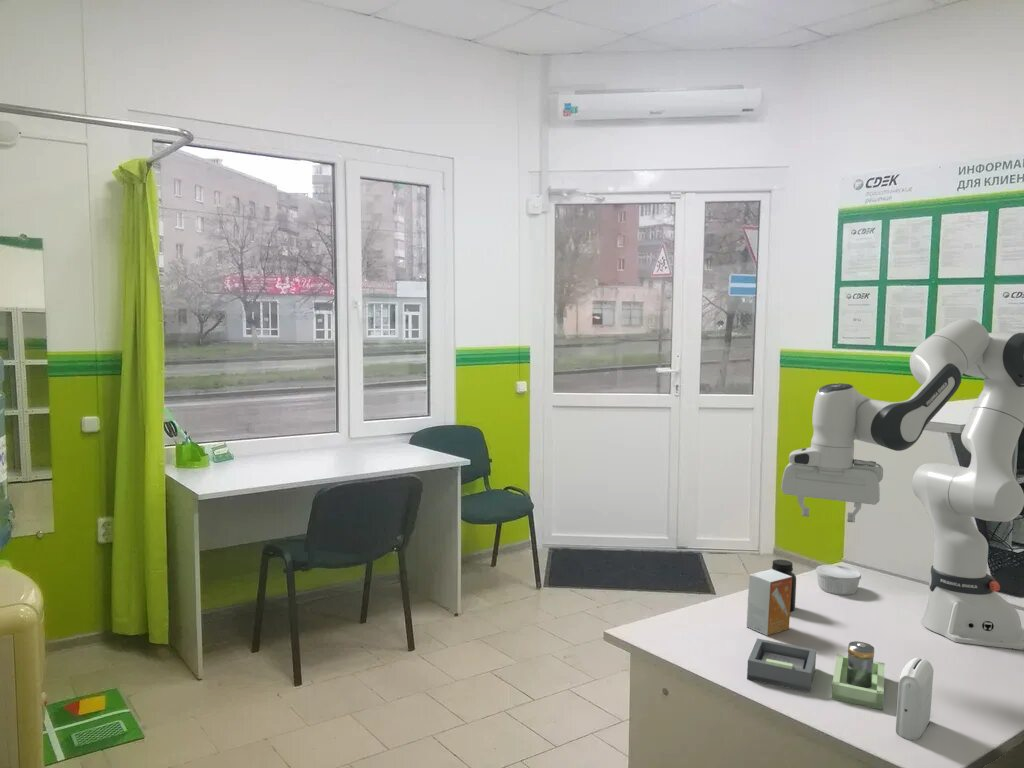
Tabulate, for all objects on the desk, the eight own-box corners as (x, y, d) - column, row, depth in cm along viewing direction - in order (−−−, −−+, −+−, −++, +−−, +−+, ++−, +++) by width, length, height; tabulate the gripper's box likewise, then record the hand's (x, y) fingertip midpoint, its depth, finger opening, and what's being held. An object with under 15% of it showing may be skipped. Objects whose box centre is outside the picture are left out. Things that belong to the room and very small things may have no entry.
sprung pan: (804, 663, 163) (804, 659, 163) (800, 679, 156) (800, 675, 156) (764, 655, 167) (765, 651, 167) (758, 670, 159) (759, 666, 159)
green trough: (883, 677, 161) (884, 663, 160) (882, 709, 147) (883, 694, 147) (836, 667, 165) (837, 653, 164) (831, 698, 151) (832, 683, 151)
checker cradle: (815, 668, 164) (816, 647, 164) (809, 692, 153) (810, 670, 153) (756, 656, 169) (757, 635, 169) (746, 679, 159) (748, 657, 158)
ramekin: (866, 590, 212) (868, 571, 211) (848, 600, 204) (850, 580, 204) (826, 579, 220) (827, 561, 219) (808, 588, 212) (809, 570, 212)
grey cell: (872, 680, 157) (874, 642, 156) (871, 690, 153) (874, 651, 152) (846, 675, 159) (849, 637, 158) (845, 685, 155) (848, 646, 154)
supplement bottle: (771, 601, 202) (773, 556, 201) (798, 607, 198) (800, 561, 197) (762, 609, 197) (765, 562, 196) (790, 615, 193) (792, 568, 192)
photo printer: (918, 744, 136) (923, 675, 135) (892, 734, 139) (896, 668, 137) (932, 721, 144) (937, 656, 142) (907, 712, 146) (911, 649, 145)
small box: (767, 636, 180) (770, 582, 179) (745, 627, 185) (748, 573, 184) (790, 629, 184) (793, 576, 183) (767, 620, 190) (770, 568, 188)
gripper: (884, 459, 170) (879, 521, 171) (785, 450, 179) (782, 509, 180) (883, 464, 164) (879, 528, 166) (781, 455, 173) (778, 515, 175)
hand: (828, 518), depth 173 cm, fingers open, 8 cm apart
